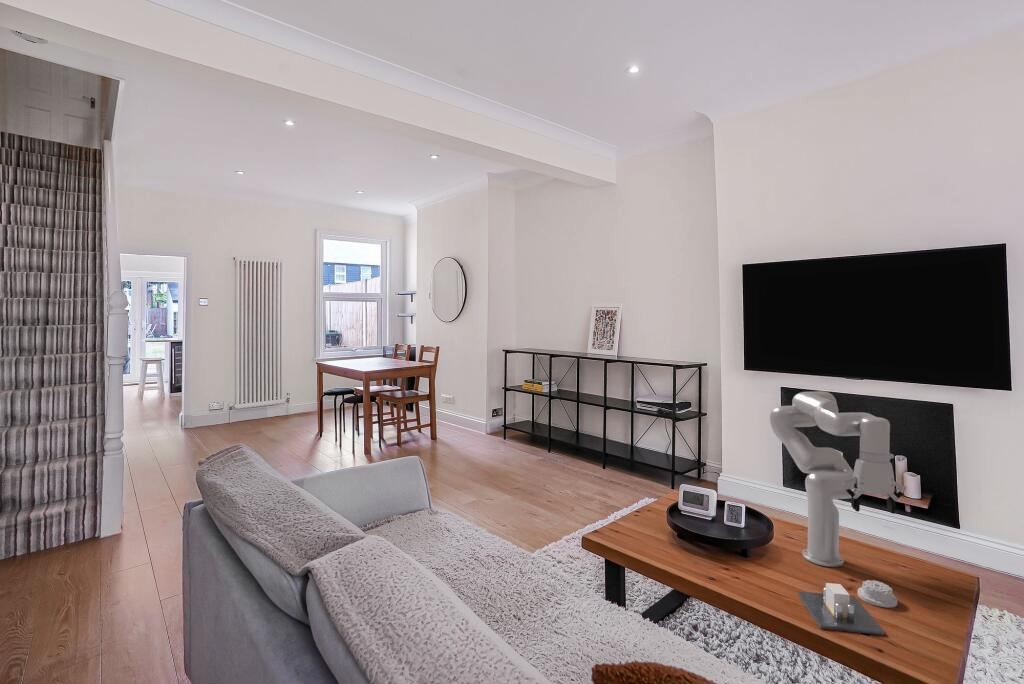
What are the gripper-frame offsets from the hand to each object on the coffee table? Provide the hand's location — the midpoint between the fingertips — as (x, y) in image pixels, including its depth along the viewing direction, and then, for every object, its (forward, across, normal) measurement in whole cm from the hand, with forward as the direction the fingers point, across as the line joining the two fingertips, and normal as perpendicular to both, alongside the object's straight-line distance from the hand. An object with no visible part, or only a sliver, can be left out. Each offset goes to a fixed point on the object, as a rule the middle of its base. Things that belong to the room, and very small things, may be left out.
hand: (873, 511), depth 157 cm
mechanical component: (+27, 0, +3) cm, 27 cm away
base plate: (+26, +15, +14) cm, 33 cm away
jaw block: (+25, +15, +14) cm, 32 cm away
